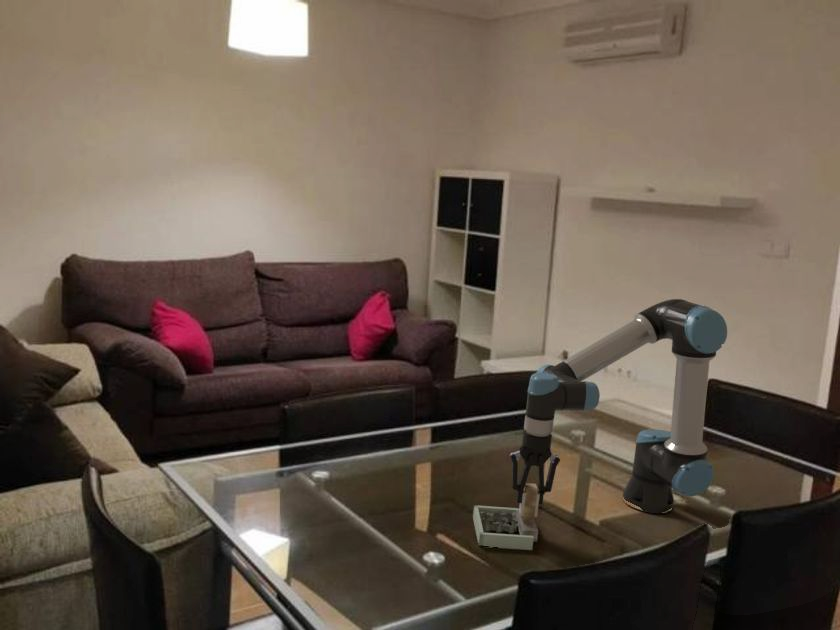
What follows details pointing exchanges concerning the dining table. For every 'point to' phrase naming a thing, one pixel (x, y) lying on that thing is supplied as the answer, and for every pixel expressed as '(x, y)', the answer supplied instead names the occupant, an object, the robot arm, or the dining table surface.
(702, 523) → the dining table surface
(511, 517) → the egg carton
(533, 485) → the scraper
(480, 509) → the box
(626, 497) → the robot arm
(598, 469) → the dining table surface
